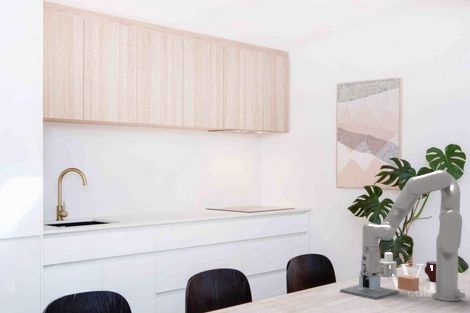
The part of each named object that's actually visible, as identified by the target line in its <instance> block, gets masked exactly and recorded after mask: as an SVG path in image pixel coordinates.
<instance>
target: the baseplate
mask: <svg viewBox="0 0 470 313" xmlns="http://www.w3.org/2000/svg"><path fill="white" fill-rule="evenodd" d="M339 291H340V293H342V292H343V294H348V295H353V296H356V297H357V296H358V297H361V298H367V299H371V300H376V301H377V300H380V299H384V298H387V297H391V296H395V295H398V294H400V290H399V289H398V290H397V289H392V288H387V287H381V286H380V289H377V290H369V289H364V288H359V284H358V285H353V286H349V287H346V288H340V290H339Z"/></svg>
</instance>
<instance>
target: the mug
mask: <svg viewBox="0 0 470 313" xmlns="http://www.w3.org/2000/svg"><path fill="white" fill-rule="evenodd" d="M430 265H433V271H431V268H430ZM424 273H425V274H426V275H427V277H428V280H429V281H430V282H431V281H433V282H432V283H436V261H435V260H431V261H426V265H425V267H424Z"/></svg>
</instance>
